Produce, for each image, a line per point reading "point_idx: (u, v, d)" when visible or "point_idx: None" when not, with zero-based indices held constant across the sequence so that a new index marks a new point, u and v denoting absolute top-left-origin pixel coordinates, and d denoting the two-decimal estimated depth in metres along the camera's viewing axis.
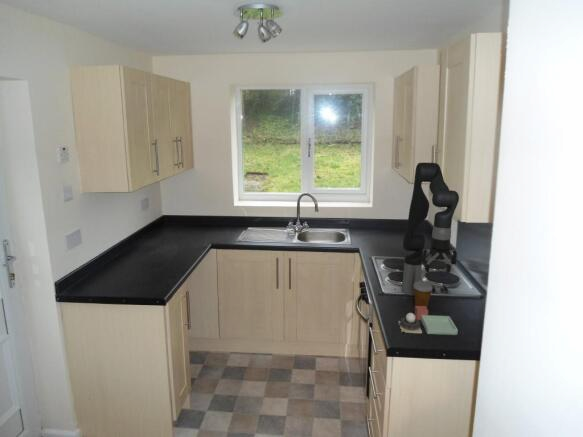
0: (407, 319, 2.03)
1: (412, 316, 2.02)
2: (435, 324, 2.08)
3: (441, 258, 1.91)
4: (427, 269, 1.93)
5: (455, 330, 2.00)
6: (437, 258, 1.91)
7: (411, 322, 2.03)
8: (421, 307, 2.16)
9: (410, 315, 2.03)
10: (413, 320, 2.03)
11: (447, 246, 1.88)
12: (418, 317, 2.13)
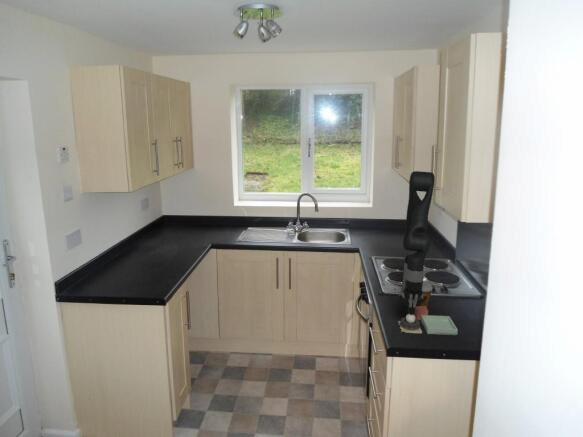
0: (407, 320, 2.04)
1: (412, 317, 2.03)
2: (435, 324, 2.08)
3: None
4: (410, 311, 2.03)
5: (455, 330, 2.00)
6: (414, 297, 2.01)
7: (411, 323, 2.03)
8: (421, 307, 2.16)
9: (410, 316, 2.03)
10: (413, 321, 2.03)
11: (420, 288, 1.97)
12: (418, 317, 2.13)
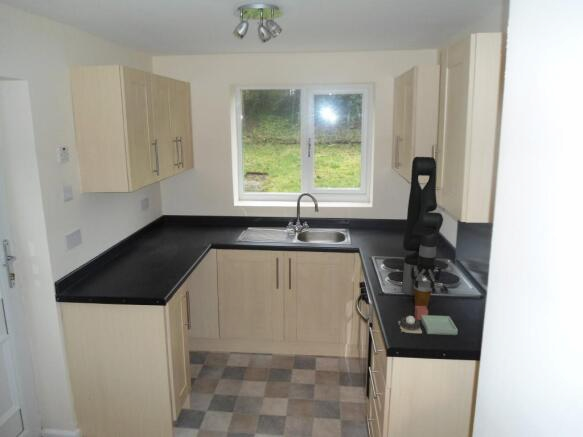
0: (407, 322, 2.04)
1: (412, 319, 2.03)
2: (435, 324, 2.08)
3: (427, 274, 2.09)
4: (416, 285, 2.11)
5: (455, 330, 2.00)
6: (424, 274, 2.09)
7: None
8: (421, 307, 2.16)
9: (410, 318, 2.03)
10: (413, 323, 2.03)
11: (433, 263, 2.06)
12: (418, 317, 2.13)
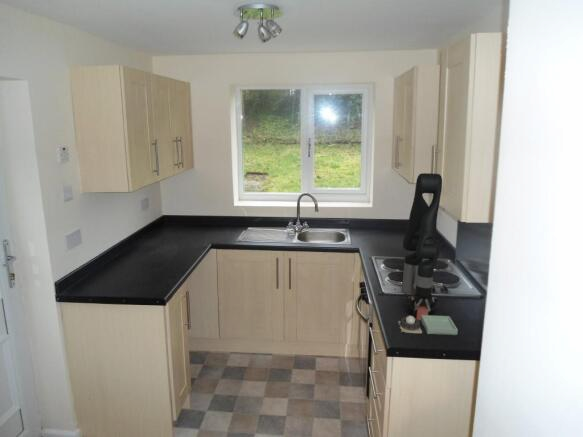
0: (407, 322, 2.04)
1: (412, 319, 2.03)
2: (435, 324, 2.08)
3: (424, 303, 2.13)
4: (415, 314, 2.15)
5: (455, 330, 2.00)
6: (422, 303, 2.13)
7: None
8: (421, 307, 2.16)
9: (410, 318, 2.03)
10: (413, 323, 2.03)
11: (430, 293, 2.09)
12: (418, 317, 2.13)
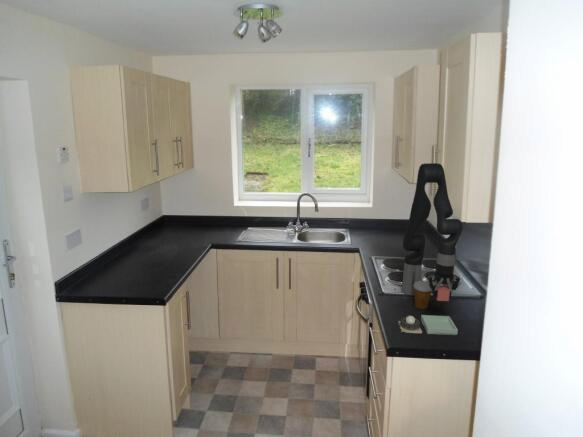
0: (407, 322, 2.04)
1: (412, 319, 2.03)
2: (435, 324, 2.08)
3: (445, 283, 2.00)
4: (435, 295, 2.02)
5: (455, 330, 2.00)
6: (443, 282, 2.00)
7: None
8: (442, 287, 2.03)
9: (410, 318, 2.03)
10: (413, 323, 2.03)
11: (451, 272, 1.97)
12: (439, 298, 2.01)
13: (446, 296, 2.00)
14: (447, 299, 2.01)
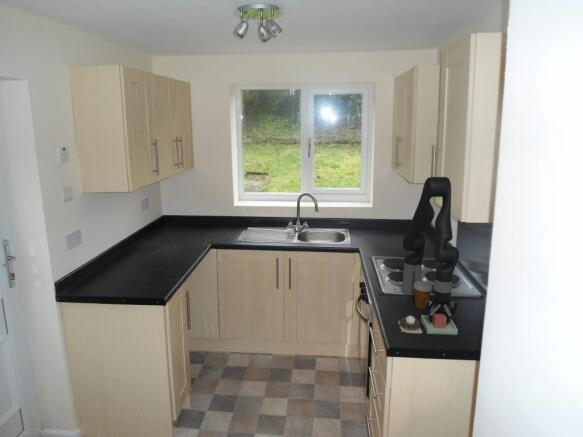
0: (407, 322, 2.04)
1: (412, 319, 2.03)
2: None
3: (442, 309, 2.03)
4: (430, 319, 2.05)
5: (455, 330, 2.00)
6: (439, 309, 2.03)
7: None
8: (439, 315, 2.06)
9: (410, 318, 2.03)
10: (413, 323, 2.03)
11: (448, 298, 2.00)
12: (436, 325, 2.04)
13: (443, 324, 2.04)
14: (444, 327, 2.04)
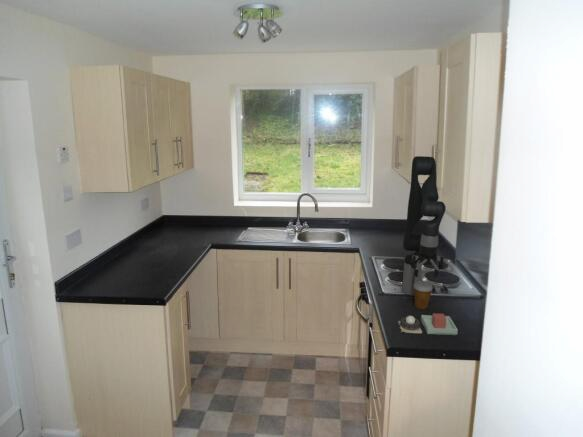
0: (407, 322, 2.04)
1: (412, 319, 2.03)
2: None
3: (429, 264, 2.05)
4: (416, 274, 2.07)
5: (455, 330, 2.00)
6: (425, 264, 2.05)
7: None
8: (439, 315, 2.06)
9: (410, 318, 2.03)
10: (413, 323, 2.03)
11: (435, 253, 2.01)
12: (436, 325, 2.04)
13: (443, 324, 2.04)
14: (444, 327, 2.04)
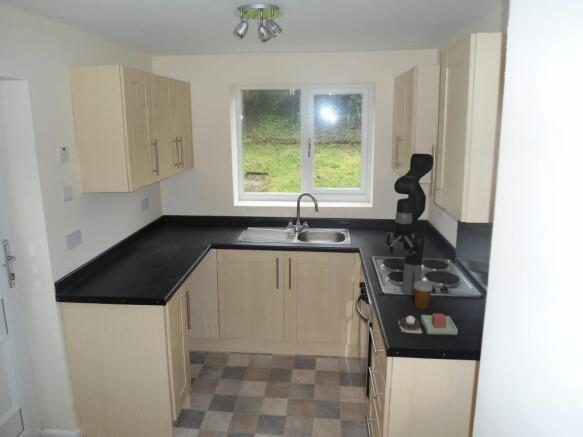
0: (407, 322, 2.04)
1: (412, 319, 2.03)
2: None
3: (403, 240, 2.12)
4: (391, 251, 2.14)
5: (455, 330, 2.00)
6: (400, 240, 2.12)
7: None
8: (439, 315, 2.06)
9: (410, 318, 2.03)
10: (413, 323, 2.03)
11: (408, 229, 2.08)
12: (436, 325, 2.04)
13: (443, 324, 2.04)
14: (444, 327, 2.04)
